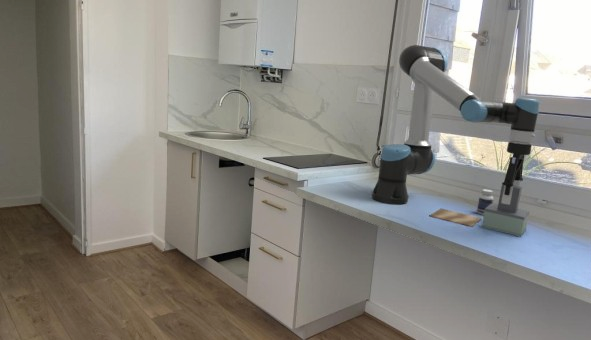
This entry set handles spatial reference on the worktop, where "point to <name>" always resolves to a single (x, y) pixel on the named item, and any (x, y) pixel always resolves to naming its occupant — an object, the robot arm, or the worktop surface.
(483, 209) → the pill bottle
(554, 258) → the worktop surface
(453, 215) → the plate
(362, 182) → the worktop surface
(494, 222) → the sage green block
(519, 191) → the lid
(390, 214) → the worktop surface
